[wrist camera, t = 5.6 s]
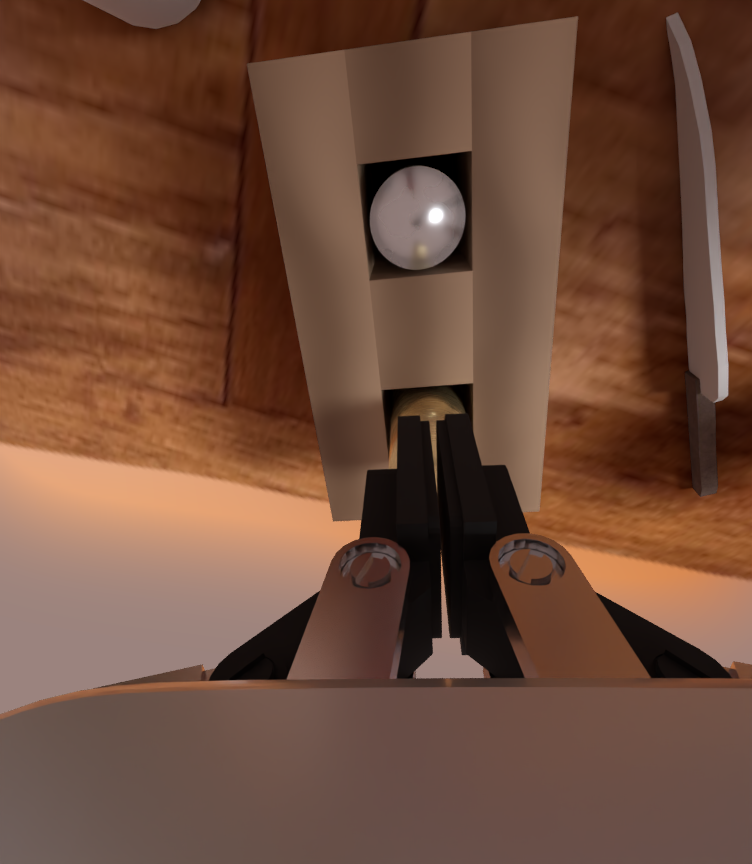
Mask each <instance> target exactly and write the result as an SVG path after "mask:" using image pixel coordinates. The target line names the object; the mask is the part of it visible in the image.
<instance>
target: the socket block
mask: <svg viewBox="0 0 752 864" xmlns="http://www.w3.org/2000/svg"><path fill="white" fill-rule="evenodd" d="M577 24H578V16H576V17H569V18H562V19H555V20H548V21H542V22H535V23H528V24H521V25H514V26H507V27H500V28H493V29H486V30H479V31H472V32H465V33H458V34H451V35H444V36H437V37H430V38H423V39H416V40H409V41H402V42H395V43H388V44H381V45H374V46H367V47H360V48H353V49H346V50H339V51H332V52H325V53H318V54H311V55H304V56H297V57H290V58H283V59H276V60H269V61H262V62H255V63H248V64H247V68H248V73H249V79H250V84H251V89H252V95H253V100H254V105H255V110H256V116H257V121H258V126H259V132H260V137H261V142H262V148H263V153H264V158H265V163H266V169H267V174H268V179H269V185H270V190H271V195H272V200H273V206H274V211H275V216H276V222H277V227H278V232H279V238H280V243H281V248H282V253H283V259H284V264H285V269H286V275H287V280H288V285H289V291H290V296H291V301H292V306H293V312H294V317H295V322H296V328H297V333H298V338H299V343H300V349H301V354H302V359H303V365H304V370H305V375H306V381H307V386H308V391H309V396H310V402H311V407H312V412H313V418H314V423H315V428H316V433H317V439H318V444H319V449H320V455H321V460H322V465H323V471H324V476H325V481H326V486H327V492H328V497H329V502H330V508H331V512H332V518H333V521H349V520H362V511H363V502H364V493H365V484H366V475H367V470H373V469H389V452H390V432H391V413H392V395H393V394H392V389H401V388H414V387H428V386H441V385H455V384H458V385H459V388H460V392H461V396H462V400H463V404H464V409H465V413H468V415H469V418H470V422H471V426H472V430H473V433H474V437H475V441H476V444H477V448H478V452H479V456H480V459H481V463H482V465H506V467H507V469H508V472H509V475H510V478H511V481H512V484H513V486H514V489H515V492H516V495H517V498H518V501H519V504H520V507H521V509H522V512H536V511H540V498H541V485H542V472H543V459H544V447H545V434H546V421H547V408H548V395H549V382H550V370H551V357H552V344H553V331H554V318H555V306H556V293H557V280H558V267H559V254H560V241H561V229H562V216H563V203H564V190H565V177H566V165H567V152H568V139H569V126H570V113H571V100H572V88H573V75H574V62H575V49H576V36H577ZM446 154H452V170H453V182H454V184H455V185H456V186H457V188H458V189H459V192H460V194H461V196H462V199H463V202H464V207H465V225H464V230H463V234H462V237H461V239H460V241H459V243H458V245H457V246H456V248H455V249H454V251H453V252H452V253H451V254H450V255H449V256H448V257H447V258H446V259H445V260H443V261H442V262H440V263H439V264H437V265H435V266H433V267H430V268H427V269H421V270H411V269H405V268H402V267H399V266H397V265H395V264H393V263H392V262H390V261H389V260H388V259H386V258H385V257H384V256H383V255H382V253H381V252H380V251H379V249H378V248H377V246H376V244H375V242H374V240H373V237H372V233H371V228H370V211H371V206H372V203H373V200H374V196H373V186H372V175H371V165H370V164H371V163H379V162H388V161H396V160H404V159H413V158H421V157H429V156H438V155H446Z"/></svg>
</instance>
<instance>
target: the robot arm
mask: <svg viewBox="0 0 752 864" xmlns="http://www.w3.org/2000/svg"><path fill="white" fill-rule="evenodd" d="M436 452H437V488H436V479H435V469H434V460H433V451H432V442H431V433H430V423H429V421H420V415H416V416H398V427H397V469H373V470H367V475H366V484H365V493H364V502H363V511H362V520H361V529H360V538H359V539H358V540H355V541H352V542H350V543H348V544H347V545H345V546H343V547H342V548H341V549H340V550H339V551H338V552H337V553H336V554H335V556H334V558H333V559H332V561H331V564H330V566H329V569H328V572H327V574H326V577H325V580H324V582H323V585H322V588H321V590H320V591H319V592H317V593H316V594H314V595H313V596H312V597H310V598H309V599H307V600H306V601H304V602H303V603H302V604H300V605H299V606H298V607H296V608H294V609H293V610H292V611H290V612H289V613H287V614H286V615H284V616H283V617H282V618H280V619H279V620H277V621H276V622H274V623H273V624H272V625H270V626H269V627H267V628H266V629H264V630H263V631H262V632H260V633H259V634H257V635H256V636H255V637H253V638H252V639H250V640H249V641H248V642H246V643H245V644H243V645H242V646H240V647H239V648H237V649H236V650H234V651H233V652H232V653H230V654H229V655H228V656H227V657H226V658H225V659H223V661H222V662H220V663H219V664H218V666H217V667H216V668H215V669H210V670H206V671H205V669H204V667H203V665H198V666H193V667H189V668H184V669H180V670H175V671H170V672H166V673H162V674H157V675H153V676H148V677H143V678H139V679H134V680H130V681H125V682H120V683H116V684H112V685H107V686H102V687H98V688H93V689H88V690H81V691H76V692H72V693H68V694H64V695H59V696H55V697H51V698H47V699H43V700H39V701H37V702H34V703H31V704H28V705H25V706H22V707H20V708H17V709H14V710H11V711H8V712H5V713H2V714H0V864H752V665H750V664H745V663H740V662H732V665H731V667H730V668H726V667H722V666H721V665H720V664H719V663H718V662H717V661H716V660H715V659H713V658H712V657H710V656H709V655H707V654H706V653H704V652H703V651H701V650H700V649H698V648H696V647H695V646H693V645H691V644H689V643H687V642H685V641H683V640H682V639H680V638H678V637H676V636H675V635H673V634H671V633H669V632H667V631H665V630H664V629H662V628H660V627H658V626H656V625H654V624H653V623H651V622H649V621H647V620H645V619H644V618H642V617H640V616H638V615H636V614H635V613H633V612H631V611H629V610H627V609H625V608H624V607H622V606H620V605H618V604H616V603H614V602H612V601H611V600H609V599H607V598H606V597H604V596H602V595H600V594H598V593H596V592H595V591H594V590H593V588H592V587H591V585H590V584H589V582H588V581H587V579H586V577H585V576H584V574H583V573H582V571H581V570H580V568H579V567H578V565H577V564H576V562H575V561H574V559H573V558H572V556H571V555H570V554H569V553H568V551H566V549H565V548H564V547H563V546H561V545H560V544H558V543H557V542H555V541H554V540H551V539H549V538H546V537H544V536H541V535H535V534H530V532H529V530H528V527H527V524H526V521H525V518H524V515H523V512H522V509H521V507H520V504H519V501H518V498H517V495H516V492H515V489H514V486H513V484H512V481H511V478H510V475H509V472H508V469H507V467H506V465H482V463H481V459H480V456H479V452H478V448H477V444H476V441H475V437H474V433H473V430H472V426H471V422H470V418H469V415H468V413H460V414H445V418H444V420H436ZM441 556H442V566H443V576H444V584H445V595H446V605H447V615H448V624H449V633H450V638H460V644H461V652H462V655H469V656H470V657H471V658H473V659H474V660H475V661H476V662H478V663H479V664H480V665H481V666H483V674H484V678H446V679H445V678H444V679H443V678H438V679H437V678H433V679H432V678H431V679H416V669H417V668H418V667H419V666H420V665H421V664H422V663H423V662H425V661H426V660H427V659H428V658H429V657H430V656H431V655H432V653H433V647H432V638H442V621H441V620H442V615H441V614H442V613H441Z"/></svg>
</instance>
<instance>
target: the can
mask: <svg viewBox="0 0 752 864" xmlns="http://www.w3.org/2000/svg"><path fill="white" fill-rule="evenodd" d="M83 1H85V2H87V3H89V4H91V5H93V6H95V7H97V8H99V9H101V10H103V11H105V12H107V13H109V14H111V15H113V16H115V17H117V18H119V19H121V20H123V21H125V22H127V23H129V24H131V25H134V26H140V27H147V28H153V29H158V28H162V27H166V26H170V25H173V24H177V23H179V22H180V21H181V20H183V19H184V18H185V17H186V16H188V15H189V14H190V13H191V12H192V11H194V10H195V9H196V8H197V6H198V5H199V3H200V1H201V0H83Z"/></svg>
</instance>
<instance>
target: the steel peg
mask: <svg viewBox="0 0 752 864" xmlns="http://www.w3.org/2000/svg"><path fill="white" fill-rule="evenodd" d="M464 225H465V207H464V202H463V199H462V196H461V194H460V192H459V189H458V188H457V186H456V185H455V184H454V182H453V181H452V180H451V179H450V178H449V177H448V176H446V175H445V174H444V173H442V172H440V171H438V170H436V169H434V168H430V167H426V166H422V165H408V166H405V167H402V168H400V169H398V170H397V171H395V172H394V173H393V174H392V175H391V176H390V177H389V178H388V179H387V180H386V181H385V182H384V183H383V184H382V185H381V187H380V188H379V190H378V191H377V193H376V195H375V197H374V200H373V203H372V206H371V211H370V228H371V233H372V237H373V240H374V242H375V244H376V246H377V248H378V249H379V251H380V252H381V253H382V255H383V256H384V257H385V258H386V259H388V260H389V261H390V262H392V263H393V264H395V265H397V266H399V267H402V268H405V269H411V270H421V269H427V268H430V267H433V266H435V265H437V264H439V263H440V262H442V261H443V260H445V259H446V258H447V257H448V256H449V255H450V254H451V253H452V252H453V251H454V249H455V248H456V246H457V245H458V243H459V241H460V239H461V237H462V234H463V230H464Z"/></svg>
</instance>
